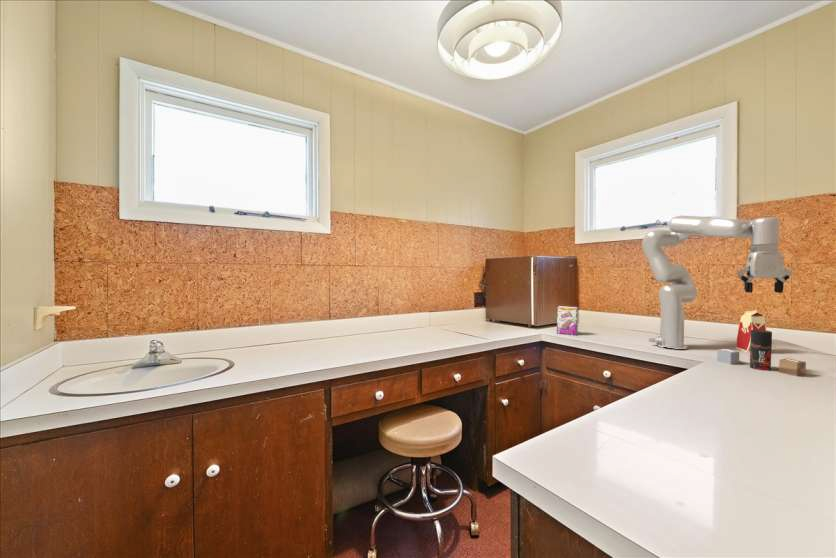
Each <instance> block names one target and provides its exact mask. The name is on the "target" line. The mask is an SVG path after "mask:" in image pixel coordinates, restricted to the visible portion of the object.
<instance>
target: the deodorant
mask: <svg viewBox="0 0 836 558" xmlns="http://www.w3.org/2000/svg"><path fill="white" fill-rule="evenodd" d="M772 342H773V332H772V331H770V330H767V331H765V330H751V342H750V353H749V368H751V369H754V370H759V371H766V372H767V371H771V368H772V367H771V366H772Z"/></svg>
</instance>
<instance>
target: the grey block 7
mask: <svg viewBox="0 0 836 558" xmlns="http://www.w3.org/2000/svg"><path fill="white" fill-rule="evenodd" d="M716 361H717V362H719V363H724V364H728V365H736V364H740V351H737V350H732V349H730V348H729V349H727V348H721V349H717V353H716Z"/></svg>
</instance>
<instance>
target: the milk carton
mask: <svg viewBox="0 0 836 558" xmlns="http://www.w3.org/2000/svg"><path fill="white" fill-rule="evenodd" d="M743 311H744V314H743V315H741V316H740V321H739V324H738V329H737V335H736V342H735V349H736V348H738V349H737V350H739V349H741V350H740V351H742V350H743V351H742V352H744V351H746V352H745V353H747V352H750V342H751V330H765V331H768V329H767V325H766V318H765V315H763V314H761V313H759V309H754V310H749V311H748V310H747V311H746V310H743Z"/></svg>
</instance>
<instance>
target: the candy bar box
mask: <svg viewBox="0 0 836 558" xmlns="http://www.w3.org/2000/svg"><path fill="white" fill-rule="evenodd" d="M578 318H579V307H577V306H564V305H562V306H561V305H558V306H557V307H556V334H558V333H560V334H559V335H567V334H573V335H572V336H578V334H579V333H578V331H579V330H578V329H579V328H578V327H579V325H578V324H579V319H578Z"/></svg>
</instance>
